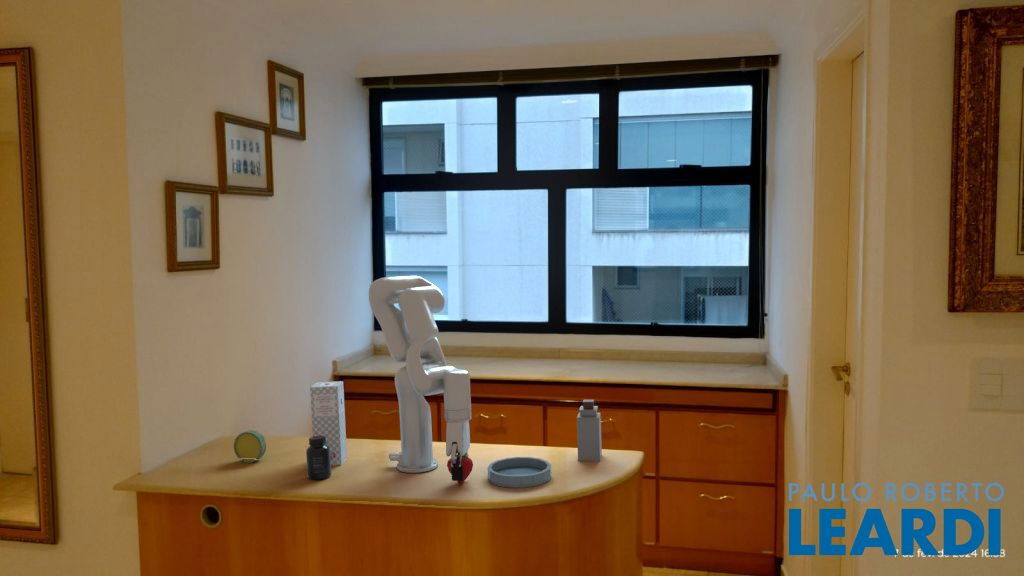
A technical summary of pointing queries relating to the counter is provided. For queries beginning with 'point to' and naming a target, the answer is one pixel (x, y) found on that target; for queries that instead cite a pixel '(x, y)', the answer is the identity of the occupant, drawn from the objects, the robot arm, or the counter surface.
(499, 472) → the slate dish
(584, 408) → the perfume bottle
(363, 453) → the counter surface
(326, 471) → the supplement bottle
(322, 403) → the box
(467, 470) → the strawberry
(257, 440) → the decorative artifact
